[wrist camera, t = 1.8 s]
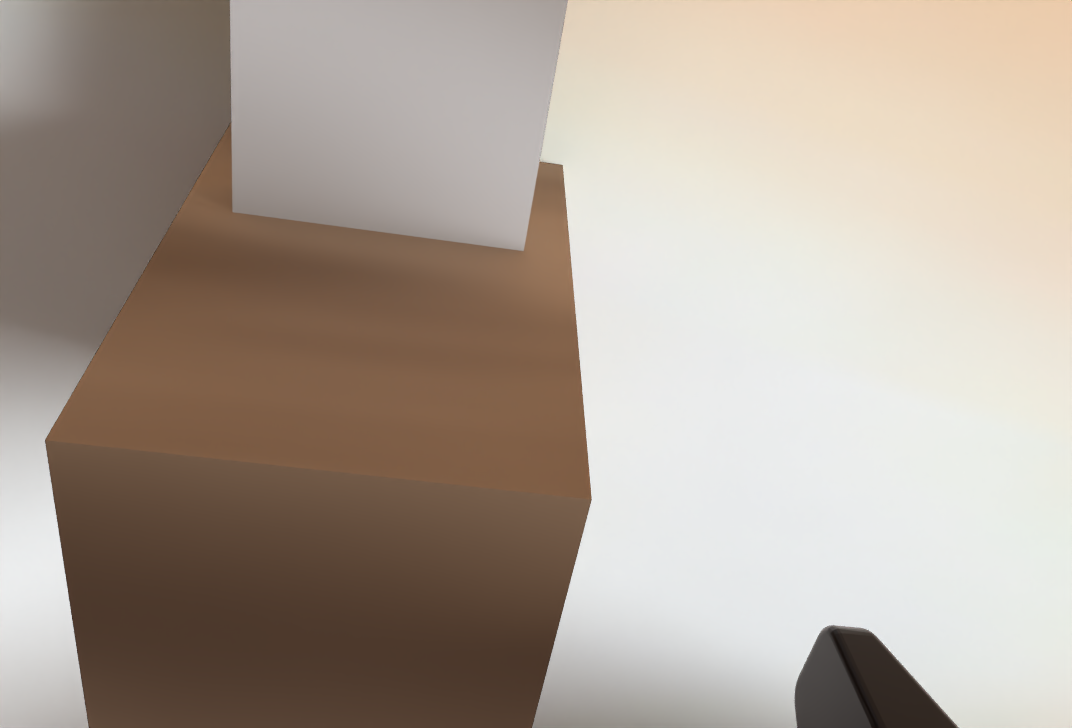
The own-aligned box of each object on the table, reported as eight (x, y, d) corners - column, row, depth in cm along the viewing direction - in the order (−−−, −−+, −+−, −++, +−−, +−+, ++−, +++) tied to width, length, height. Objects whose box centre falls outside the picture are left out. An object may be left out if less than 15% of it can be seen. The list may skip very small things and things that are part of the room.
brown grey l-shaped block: (514, 416, 15) (513, 796, 10) (236, 383, 14) (94, 764, 10) (738, -764, 8) (1081, -1370, 3) (221, -892, 8) (-300, -1823, 3)
